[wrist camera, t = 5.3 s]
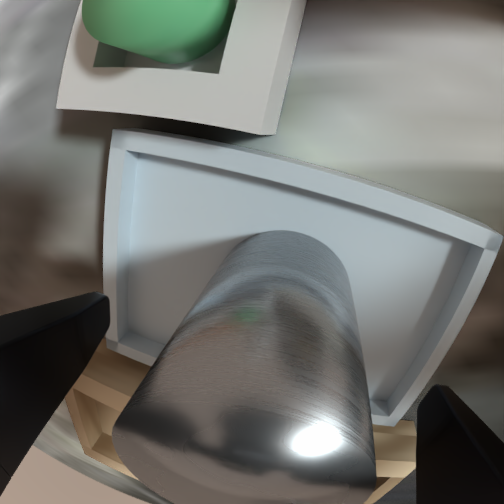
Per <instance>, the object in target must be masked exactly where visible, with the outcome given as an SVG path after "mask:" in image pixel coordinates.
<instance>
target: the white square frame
mask: <svg viewBox="0 0 504 504" xmlns="http://www.w3.org/2000/svg"><path fill="white" fill-rule="evenodd" d="M82 1H83V0H81V2H80V5H79V8H78V12H77V15H76V18H75V22H74V25H73V29H72V32H71V36H70V40H69V44H68V48H67V52H66V57H65V61H64V66H63V71H62V76H61V81H60V87H59V93H58V99H57V106H56V109H76V110H93V111H106V112H118V113H128V114H137V115H146V116H154V117H162V118H169V119H176V120H183V121H189V122H195V123H201V124H207V125H213V126H218V127H224V128H229V129H234V130H239V131H244V132H249V133H253V134H258V135H275V134H276V130H277V126H278V121H279V117H280V113H281V109H282V104H283V100H284V96H285V91H286V87H287V83H288V79H289V74H290V70H291V66H292V61H293V57H294V53H295V49H296V44H297V40H298V36H299V32H300V27H301V23H302V19H303V15H304V10H305V6H306V2H307V0H235V4H236V8H235V12H234V15H233V19H232V23H231V27H230V30H229V32H228V34H227V35H226V37H225V38H224V39H223V40H222V41H221V42H220V43H219V44H218V45H217V46H216V47H215V48H214V49H213V50H211V51H210V52H208V53H207V54H205V55H204V56H202V57H200V58H197V59H195V60H192V61H189V62H185V63H179V64H167V63H161V62H158V61H155V60H152V59H150V58H147V57H144V56H141V55H138V54H136V53H133V52H130V51H127V50H124V49H121V48H118V47H115V46H111V45H108V44H105V43H102V42H100V41H98V40H96V39H95V38H93V37H92V36H91V35H90V34H89V33H88V31H87V30H86V28H85V26H84V23H83V20H82Z"/></svg>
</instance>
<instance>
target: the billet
mask: <svg viewBox="0 0 504 504" xmlns="http://www.w3.org/2000/svg"><path fill="white" fill-rule="evenodd" d="M112 442H113V445H114V448H115V451H116V453H117V454H118V456H119V458H120V459H121V461H122V462H123V464H124V465H125V466H126V467H127V468H128V470H129V471H130V472H131V473H132V474H133V475H134V476H135V477H136V478H137V479H139V480H140V481H141V482H142V483H143V484H145V485H146V486H147V487H148V488H150V489H151V490H153V491H154V492H156V493H157V494H159V495H160V496H162V497H164V498H165V499H167V500H169V501H171V502H173V503H175V504H363V503H364V502H365V501H367V500H368V498H369V497H370V496H371V494H372V493H373V491H374V489H375V487H376V480H377V474H376V459H375V447H374V436H373V426H372V417H371V408H370V400H369V392H368V385H367V377H366V370H365V364H364V357H363V351H362V345H361V339H360V333H359V327H358V322H357V316H356V311H355V306H354V300H353V295H352V290H351V286H350V281H349V277H348V274H347V272H346V269H345V267H344V265H343V264H342V262H341V260H340V259H339V258H338V256H337V255H336V254H335V253H334V252H333V251H332V250H331V249H330V248H329V247H328V246H326V245H325V244H323V243H322V242H321V241H319V240H317V239H315V238H313V237H311V236H309V235H306V234H303V233H299V232H295V231H287V230H273V231H267V232H262V233H259V234H256V235H253V236H251V237H249V238H247V239H245V240H243V241H242V242H240V243H239V244H237V245H236V246H235V247H234V248H233V249H232V250H231V251H230V252H229V253H228V255H227V256H226V257H225V259H224V260H223V261H222V263H221V264H220V266H219V267H218V269H217V270H216V272H215V273H214V275H213V276H212V277H211V279H210V280H209V282H208V283H207V285H206V286H205V288H204V289H203V291H202V292H201V294H200V295H199V297H198V298H197V299H196V301H195V302H194V304H193V305H192V307H191V308H190V310H189V311H188V313H187V314H186V316H185V317H184V319H183V320H182V322H181V323H180V325H179V326H178V328H177V329H176V331H175V332H174V333H173V335H172V336H171V338H170V339H169V341H168V342H167V344H166V345H165V347H164V348H163V350H162V351H161V353H160V354H159V356H158V357H157V359H156V360H155V362H154V363H153V365H152V366H151V368H150V369H149V371H148V372H147V374H146V376H145V377H144V379H143V380H142V382H141V383H140V385H139V386H138V388H137V389H136V391H135V392H134V394H133V395H132V397H131V398H130V400H129V401H128V403H127V404H126V406H125V408H124V409H123V411H122V412H121V414H120V415H119V417H118V418H117V420H116V422H115V424H114V426H113V429H112Z"/></svg>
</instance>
